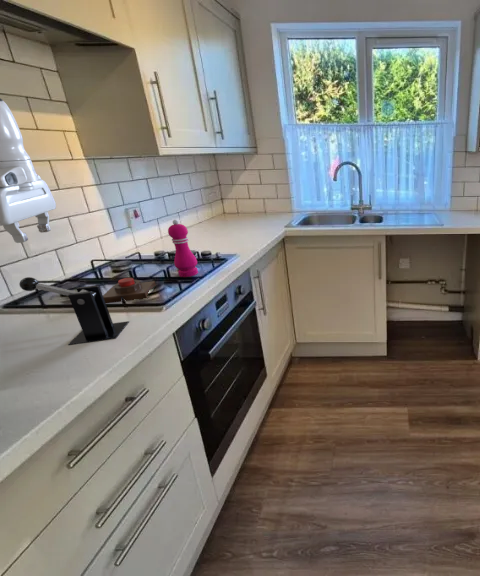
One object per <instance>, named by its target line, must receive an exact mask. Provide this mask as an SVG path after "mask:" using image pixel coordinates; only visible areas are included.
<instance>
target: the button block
mask: <svg viewBox="0 0 480 576" xmlns="http://www.w3.org/2000/svg"><path fill="white" fill-rule="evenodd" d="M134 282H135V284H133V285H130V286H125V287H120V286H119V283H118V282H117V283H116V284H114V285H112V286H111V287H110V288H109V289H108V290H107V291H106V292H105V293H104V294H102V295H103V297H104V300H105V303H106V304H114V303H121V297H123V298H124V299H125V300H126V301H125V302H129V301H135V300H134V299H139V300H144V299H143V298H147V295H148V292H149V290H150V289H152V288H153V287H154V286H156V287H157V285H156V282H155V280H153V281H144V282H141V280H139V279H134ZM147 299H148V298H147Z"/></svg>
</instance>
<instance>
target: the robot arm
mask: <svg viewBox="0 0 480 576" xmlns="http://www.w3.org/2000/svg"><path fill="white" fill-rule="evenodd" d="M13 114H14V113H13V112H12V110H11V109H10V107H9V105H8V104H7V103H6V102H5V100H3V98H1V97H0V227H1V226H3V230H5V231H6V232H7V233H8V234H9V235H10V236H11V237H12V239H13V241H14V242H15V243H16V244H23V243H25V242H27V241H29V238H28V235H27V233H26V232H23V231H22V229H21V228H20V227H21V225H20V223H19V222H21V221H24V220H27V219H30V218H34V217H35V218H37V224H36V227H37V229H38V232H39V233H41V234H42V233H43V234H44V233H48V232H50V231H51V229H52V228H51V226H50V214H49V212H50V211H51V212H52V211H53V210H56V209H57V203H56V200H55V198H54V196H53V193H52V191H51V189H50V187H49V185H48V184H47V182H46V180H44V179H42V178H41V176H40V175H38V173H37V172H36V169H35V166H34V164H33V162H32V158H31V157H30V154H29V153H28V152H27V151H26V149H25V146H24V138H23V135H22V132H21V129H20V126H19V125H18V123H17V120H16V118H15V116H14V115H13Z"/></svg>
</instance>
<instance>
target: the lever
mask: <svg viewBox="0 0 480 576" xmlns="http://www.w3.org/2000/svg"><path fill="white" fill-rule="evenodd" d="M18 285H19V287H20V289H22V291H26V292H33V291H36V290H39V291H44V292H49V293H54V294H58V295H63V296H66V297H69V296H68V295H69V294H72V293H81V292H90V291H88V290H81V291H80V292H78V291H77V290H70V289H66V288H62V287H57V286H54V285H49V284H44V283H40V282H39V280H37V278H34V277H31V276H28V277H26V276H25V277H24V278H22V279H21V280H20V281H19V284H18ZM92 294H93V296H94V299H95V296H96V292H92Z"/></svg>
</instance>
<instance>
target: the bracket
mask: <svg viewBox="0 0 480 576" xmlns="http://www.w3.org/2000/svg"><path fill="white" fill-rule="evenodd" d="M81 290H88V291H90V292H81V293H72V294H69V295H68V296H67V297H68V299H69V301H70V304H71V306H72V309H73V311H74V313H75V316H76V318H77V321H78V323H79V326H80V328H81V331H80V332H79V333H78V334H77V335H76V336H75V337H74V338H73V339H72V340H71V341H70V342H69V343H68V344H67V346H74V345H80V344H81V345H82V344H88V343H96V342H102V341H109V340H116V339H117V338H118V337H119V336H120V334H121V333H122V332H123V331H124V329H125V328H126V327H127V326H128V324H129V323H130V321H129V320H128V321H119V322H114V321H113V319H112V317H111V313H110V311H109V309H108V305H107V303H105V300H104V297H103V295H104V294H103V292H102V290H101V287H100V285H99V284H97V285H87V286H79V287H77V288H76V292H80V291H81ZM92 292H96V296H95V299H94V296H93V294H92Z"/></svg>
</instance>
